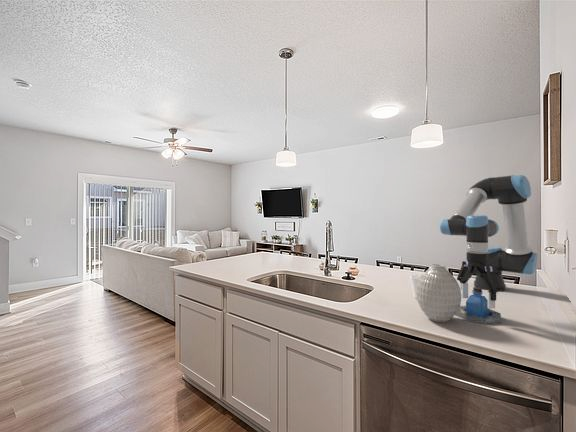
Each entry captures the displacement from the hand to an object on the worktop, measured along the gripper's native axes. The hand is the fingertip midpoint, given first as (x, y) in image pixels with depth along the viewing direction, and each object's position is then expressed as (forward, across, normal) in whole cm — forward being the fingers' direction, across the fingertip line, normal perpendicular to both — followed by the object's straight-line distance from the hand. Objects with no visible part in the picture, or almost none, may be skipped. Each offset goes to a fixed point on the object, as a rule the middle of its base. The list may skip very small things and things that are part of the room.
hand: (477, 302), depth 117 cm
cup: (+6, -27, -8) cm, 29 cm away
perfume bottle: (+6, 0, 0) cm, 6 cm away
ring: (+6, 0, 0) cm, 6 cm away
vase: (+6, 0, -18) cm, 19 cm away
